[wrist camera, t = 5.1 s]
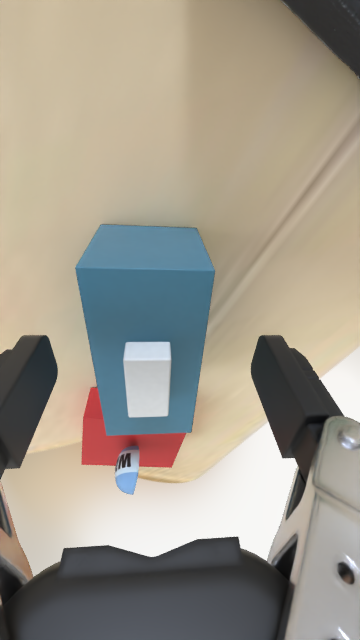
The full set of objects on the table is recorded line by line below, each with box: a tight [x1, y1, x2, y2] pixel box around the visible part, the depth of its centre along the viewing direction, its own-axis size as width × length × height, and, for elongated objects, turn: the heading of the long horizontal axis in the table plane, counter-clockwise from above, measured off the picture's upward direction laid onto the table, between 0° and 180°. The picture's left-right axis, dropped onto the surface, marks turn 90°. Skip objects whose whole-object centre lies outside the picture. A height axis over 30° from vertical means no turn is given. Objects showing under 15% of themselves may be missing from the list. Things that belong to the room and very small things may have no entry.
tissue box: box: [75, 225, 215, 436], centre depth 15 cm, size 5×11×7 cm, turn 177°
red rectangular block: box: [82, 388, 186, 495], centre depth 21 cm, size 8×7×6 cm
